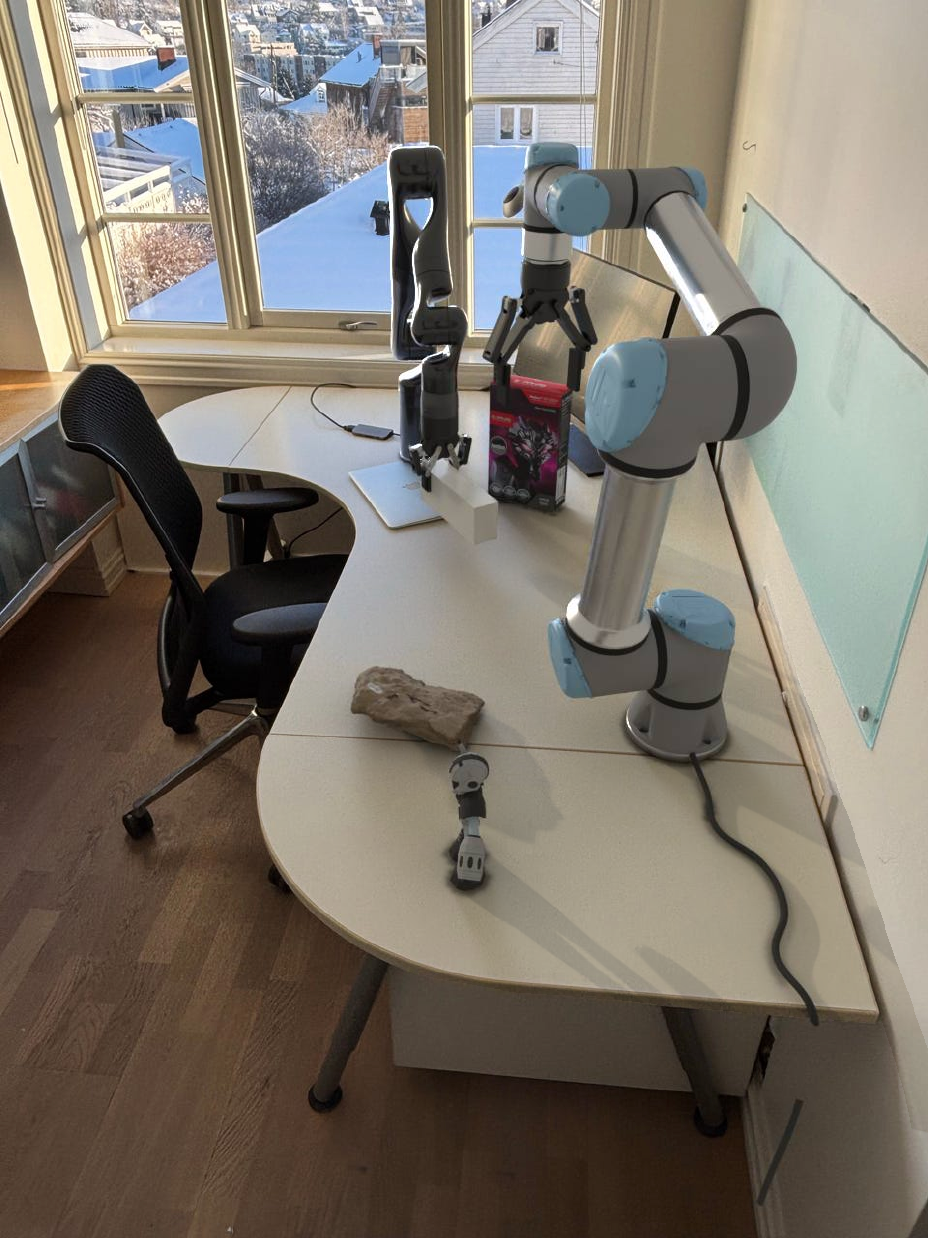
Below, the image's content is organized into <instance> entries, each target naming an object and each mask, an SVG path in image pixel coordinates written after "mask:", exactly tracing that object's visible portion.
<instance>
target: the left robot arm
mask: <svg viewBox="0 0 928 1238" xmlns="http://www.w3.org/2000/svg"><path fill="white" fill-rule="evenodd" d="M447 173H448V172H447V163H446V159H445V155H444V152H443V150H442V149H441V148H440V147H439V146H435V145H430V146H429V145H426V146H425V145H423V146H400V147H395V148H393V149H391V150H390V152H389V154H388V158H387V185H388V186H387V187H388V200H389V211H390V213H389V214H390V283H391V298H392V299H391V302H392V303H391V321H390V322H391V324H390V326H391V327H390V351H391V353H392V357H393V358H394V359H395V360H396V361H398V362H421V363H420V364H419V365H418V366H416V367H414V368H412V369H410V370H408V371H405V372H403V373H402V374H400V376H399V377H398V403H399V404H398V409H399V411H398V412H399V436H400V437H399V439H400V440H399V443H400V444H399V445H400V453H399V454H400V458H401V459H402V460H404V461H406V462H410V467H411V471H412V472H413V473H415V474H416V475H417V476H418V477H420V476H421V478H420V487H421V486H422V488H423V489H424V490H425V491H427V492H431V476H430V474H431V471H432V469H433V467H434V466H435V464H436V461H437V460H440V459H442V458H443V459H447V462H448V463H450V464H451V465H452V466H454V467H455V468H456V469H457V470H459V471H460V468H461V466H466V465H468V462H469V457H470V453H471V447H472V443H473V442H472V441H473V438H472V437H471V436H470V435H468V434H467V433H465V432H463V433H461V434H459V431H460V398H459V397H460V396H459V376H458V375H459V364H460V359H461V354H462V351H463V347H464V344H465V341H466V338H467V333H468V331H469V330H468V328H469V320H468V316H467V314H466V311H465V310H464V309H463V308H462V307H460V306H459V305H439V306H436V305H435V306H430V305H433V304H435V303H439V302H442V301H445V300H446V299H448V298H449V297H450V296H451V295H452V293H453V290H454V284H453V275H452V269H451V259H450V254H449V202H448V199H449V198H448V174H447ZM423 200H427V201H428V200H431V206H430V207H431V208H430V213H429V216H428V217H427V220H426V223H425V225H423V228H421V226H420V225H418V223H417V222H416V220H415V219H414V217H413V215H412V213H411V211H410V210H409V207H408V204H407V202H408V201H423ZM412 311H413V312H412ZM411 314H412V318H411V319H409V317H410V316H411ZM443 346H444V349H443V350H442V351H440V352H439V347H443ZM457 447H458V450H457V453H456V451H455V449H456V448H457ZM429 457H430V458H429ZM420 459H422V460H420ZM421 463H422V465H421Z"/></svg>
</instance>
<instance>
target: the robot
mask: <svg viewBox="0 0 928 1238" xmlns="http://www.w3.org/2000/svg"><path fill="white" fill-rule="evenodd" d="M457 743H458V746H459V748H460V751H459V752H460V753H461V754H460V755H458V756H457V757H455V758H454V759H453V760H452V761H451V763H450V764H449V767H448V773H449V774H448V775H449V779H450V780H451V791H452V793H453V794H454V795H455V796H454V797H455V799H456V801H457V803H458V805H459V806H458V807H457V808H458V809H457V810H458V820H459V821H460V823H461V825H462V826H461V830H460V831H459V833H458V836H457V838H456V839H455V841H454V842H453V843H452V845H451V846H450V848H449V850H448V853H449V855H450V857H451V859H452V861H455V862H456V864H455V866H454V868H453V871H452V873H451V876H450V882H451V883H452V884H453V885H454V887H456V888H457V889H459V890H464V891H467V890H468V891H469V890H473V889H475V888H477V887H480V886H482V885H483V883H484V880H485V877H486V873H485V859H486V846H485V842H484V838H482V837H481V835H480V830H479V829H480V824H481V822H480V821H481V820H480V818H482V819H487V806H486V805H487V803H486V800H485V797H484V794H483V793H484V792H483V786H484V783H485V780H487V779H488V777H489V775H490V766H489V763H488V761H487V759H486V758H484V756H482V755H480V754H478V753H476V752H473V751H468V750H467V749H466V746H465V747H464V745H463V744H462V742H461V740H460V739H458V740H457Z"/></svg>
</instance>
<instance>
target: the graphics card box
mask: <svg viewBox="0 0 928 1238" xmlns="http://www.w3.org/2000/svg"><path fill="white" fill-rule="evenodd" d="M573 392H574V391H573V390H571V389H569V388H567V384H566V383H565V384H563V383H559V382H553V381H547V380H543V379H537V378H532V377H527V376H521V375H515V374H511V381H510V406H504V405H502V404H501V403H499V402H497V384H495V383H494V381H493V380H492V381H491V382H490V383H489V424H488V428H489V429H488V434H489V435H488V468H487V469H488V472H487V475H488V476H487V477H488V478H487V480H488V481H487V493H488V494H489V495H490V496H492V497H493V498H494V499H496V500H501V501H504V502H510V503H515V504H519V505H522V506H527V507H531V508H534V509H538V510H539V509H540V510H543V511H548V512H552V513H555V512H556V511H557V510H558V509H559V508H560V507H561V506H562V505H563V504H564V503H565V502H566V493H567V482H568V481H567V479H568V464H569V463H568V462H569V447H570V433H571V432H570V431H571V417H572V407H573V405H572V403H573Z"/></svg>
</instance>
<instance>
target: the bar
mask: <svg viewBox="0 0 928 1238" xmlns="http://www.w3.org/2000/svg"><path fill="white" fill-rule="evenodd" d="M421 465H422V463H421ZM430 476H431V492H427V491H425V490H424V489H423V488H422V486H421V485H420V499H421V500H422V501H423V502H424V503H425V504H427V505H428V506H429V507H430V508H431V509H432V510H433V511H434V512H436V514H438V515H439V516H440V517H441V518H442V519H444V520H445V521H446V522H447V523H448V524H449V525H450V526H451V527H452V528H454V529H455V530H456V531H457V532H458V533H459V534H461V535H462V536H463V537H464V538H465V539H466V540H467V541H469V543H471V544H472V545H473V546H475V545H478V544H482V543H485V542H489V541H492V540H496V539H497V538H498V520H499V519H498V517H499V501H498V499H496V498H493V497H492V496H490V495H489V494H488V491H485V490H484V489H483V488H482V487H480V486H479V485H478V484H476V483H475V482H474V481H473V480H471V479H470V478H469V477H468V476H466V475H465V474H464V473H463V472H462V471H460V469H459V470H457V469H456V468H455V467H454V466H452V465H451V464H450V463H449V462H448V460H446V458H442V459H440V460H437V461H436V464H435V466H434V467H433V469H432V471H431V474H430ZM419 477H420V479H421V476H419Z"/></svg>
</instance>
